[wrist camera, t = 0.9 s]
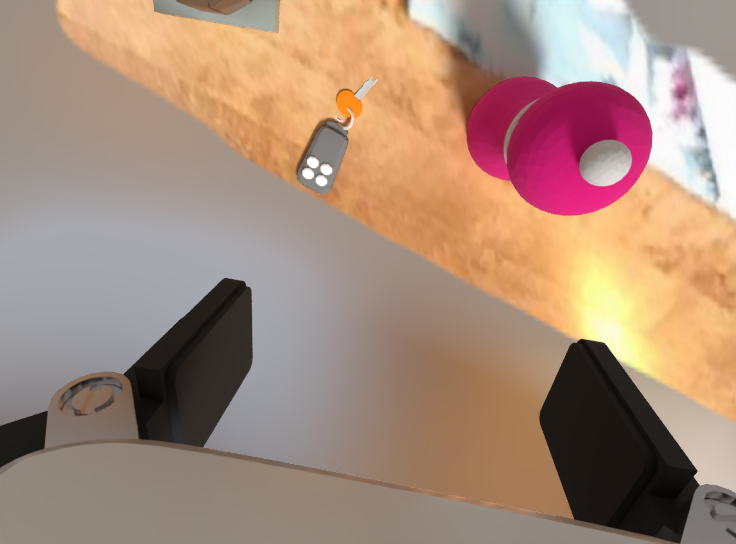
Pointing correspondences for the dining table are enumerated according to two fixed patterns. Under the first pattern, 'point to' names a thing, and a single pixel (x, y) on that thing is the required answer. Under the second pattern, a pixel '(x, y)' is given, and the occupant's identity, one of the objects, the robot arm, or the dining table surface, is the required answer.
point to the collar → (226, 12)
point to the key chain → (331, 144)
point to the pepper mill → (561, 142)
